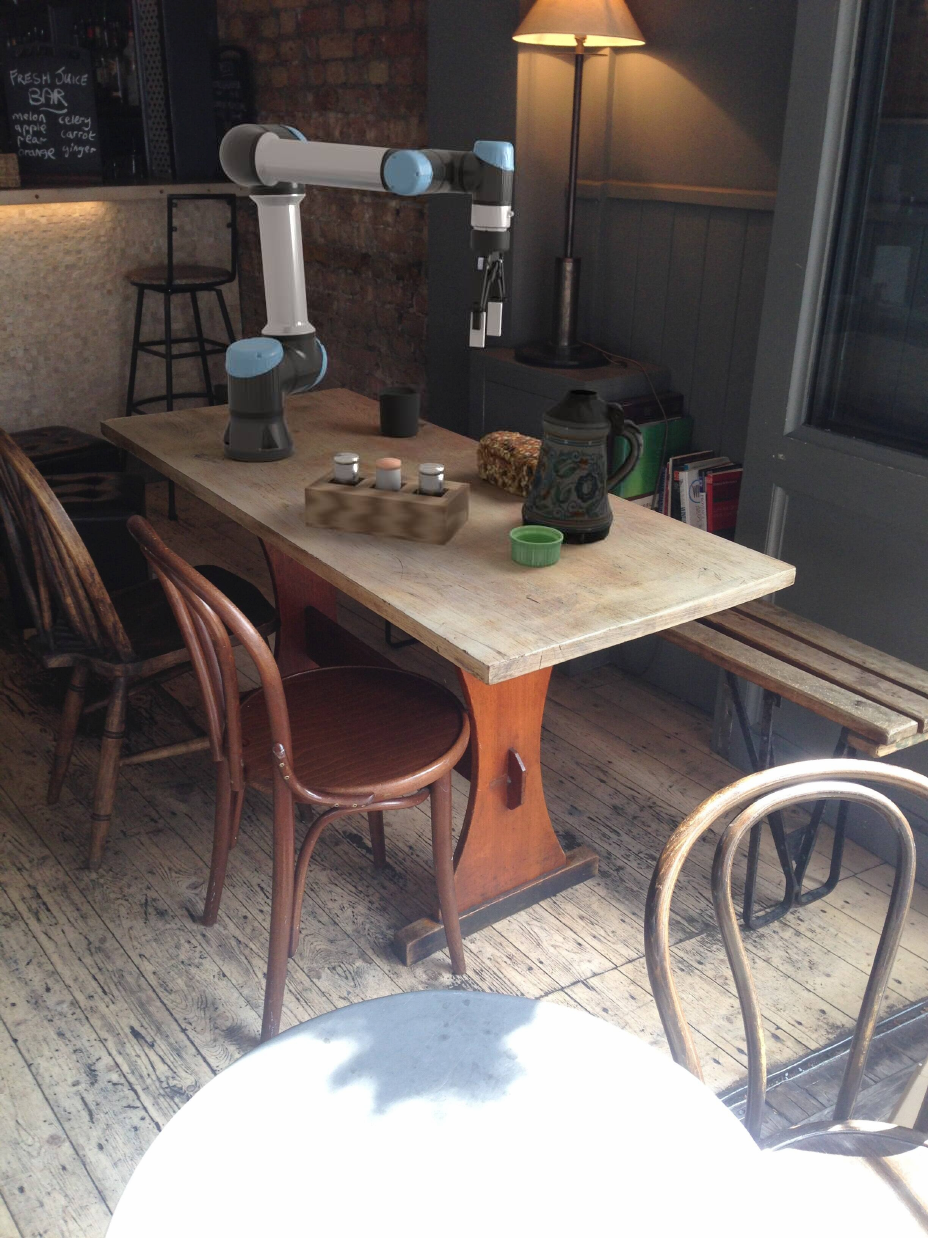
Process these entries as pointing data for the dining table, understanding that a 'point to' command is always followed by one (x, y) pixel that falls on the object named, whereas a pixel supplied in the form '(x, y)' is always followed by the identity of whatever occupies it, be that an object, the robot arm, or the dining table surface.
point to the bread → (508, 460)
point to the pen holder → (399, 411)
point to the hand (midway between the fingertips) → (485, 340)
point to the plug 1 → (346, 469)
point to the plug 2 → (431, 479)
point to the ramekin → (535, 545)
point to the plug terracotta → (388, 474)
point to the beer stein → (579, 467)
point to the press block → (387, 508)
